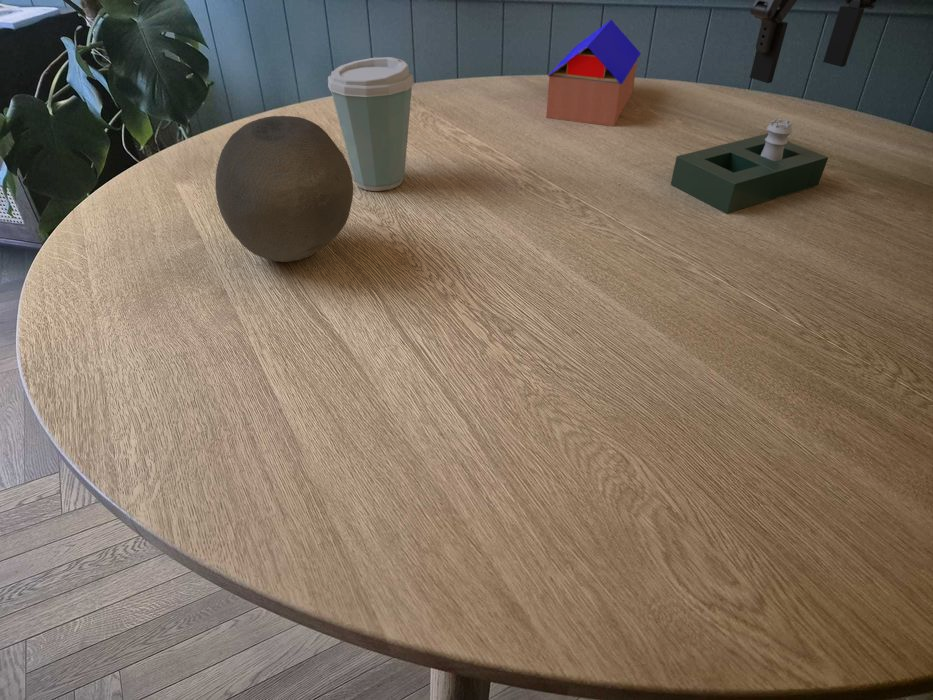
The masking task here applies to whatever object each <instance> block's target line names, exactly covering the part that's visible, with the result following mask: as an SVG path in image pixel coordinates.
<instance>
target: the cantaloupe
mask: <svg viewBox="0 0 933 700" xmlns="http://www.w3.org/2000/svg"><path fill="white" fill-rule="evenodd" d="M353 181H354V179H353V174H352V170H351V167H350V166H349V163H348V161H347V159H346V157H345V155H344V154H343V152H342V151H341V150H340V148H339V147H338V146H337V144H336V142H335V141H333V139H332V138H331V136H330V134H328V133H327V132H326V131H325V130H324V129H323V128H322V127H321V126H320V125H319V124H317V123H315V122H314V121H311V120H309V119H306V118H304V117H300V116H291V115H272V116H271V115H270V116H266V117H261V118H258V119H255V120H252V121H250V122H248V123H246V124H244V125H242V126H241V127H240V128H238V129H237V130H236V131H235V132H233V133H232V134H231V136H229V138H228V140H227V141H226V143H225V144H224V146H223V148H222V149H221V152H220V155H219V157H218V162H217V165H216V171H215V195H216V201H217V206H218V209H219V212H220V215H221V217H222V219H223V221H224V223H225V224H226V226H227V228H228V229H229V232H231V234H232V235H233V236H234V237H235V239H236V240H238V242H239V243H240V244H241V245H242V246H243V247H244V248H245V249H247V251H249V252H250V253H252V254H254V255H255V256H258V257H260V258H263V259H265V260H269V261H273V262H279V263H280V262H281V263H291V262H295V261H301V260H304V259H306V258H308V257H312V256H313V255H314V254H316V253H317V252H319V251H320V250H322V249H324V248H325V247H326V246H327V245H329V244H330V243H331V242H332V241H333V240H334V239H335V238H336V237H337V236H338V235H339V234H340V233H341V231H342V230H343V229H344V227H345V226H346V224H347V222H348V219H349V216H350V213H351V207H352V203H353V196H354V182H353Z"/></svg>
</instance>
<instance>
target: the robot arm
mask: <svg viewBox="0 0 933 700" xmlns="http://www.w3.org/2000/svg"><path fill="white" fill-rule="evenodd" d="M797 1H798V0H754V1H753V3H752V5H751V7H750V11H749V12H750V15H752V16H754V18H755V19H759V20H761V22H760V27H759V31H758V35H757V36H758V37H757V41H756V44H755V55H754V58H753V62H752V65H751V66H752V67H751V70H750V75H749V78H750V79H753V80H756V81H759V82H763V83H766V84H771V83H773V80H774V78H775V77H774V76H775V73H776V68H777V65H778V61H779V58H780V54H781V50H782V46H783V43H784V39H785V35H786V32H787V29H788V25H789V22H786V21H784V19H785V18H786V17H787V15H788V14H789V13H790V11H791V10H792V8H793V7H794V6H795V5H796V3H797ZM877 3H878V0H845V4H846V5H840V6H839V9H838V12H837V15H836V19H835V22H834V25H833V27H832V32H831V34H830V38H829V41H828V45H827V48H826V50H825V54H824V57H823V60H822V62H823V63H824V64H825V63H826V64H829V65H833V66H837V67H840V68H842V67H846V66H847V62H848V59H849V56H850V53H851V50H852V47H853V44H854V40H855V38H856V35H857V32H858V30H859V27H860V24H861V21H862V18H863V14H864V11H865V9H868V10H873V9H874V8H875V7H876V5H877Z"/></svg>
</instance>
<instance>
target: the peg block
mask: <svg viewBox="0 0 933 700" xmlns="http://www.w3.org/2000/svg"><path fill="white" fill-rule="evenodd" d="M767 136H768V132H766V133H763V134H760V135H756V136H751V137H748V138H744V139H743V138H742V139H739V140H736V141H732V142H728V143H723V144H719V145H717V146H713V147H708V148H704V149H699V150H697V151H692V152H688V153H684V154H680V155H676V157H675V161H674V165H673V171H672V176H671V180H670V185H671V186H673V187H675V188H676V189H678V190H680V191H682V192H684V193H686V194H688V195H690V196H692V197H694V198H696V199H697V200H699V201H702V202H703V203H706V204H707V205H710V206H712V207H713V208H715V209H717V210H719V211H721V212H723V213H725V214H730V213H733V212H737V211H739V210H740V211H741V210H743V209H746V208H750V207H753V206H756V205H759V204H763V203H766V202H769V201H772V200H775V199H778V198H783V197H786V196H788V195H792V194H795V193H798V192H801V191H804V190H808V189H811V188H815V187H818V186H819V185H820V183H821V180H822V177H823V173H824V172H825V171H824V170H825V168H826V165H827V162H828V160H829V156H826V155H824V154H821V153H819V152H816V151H814V150H811V149H809V148H806V147H803V146H801V145H798V144H796V143H793V142H790V141H788V140H787V142H788V143H786V144H785V147H784V150H783V156H782V160H778V161H772V160H770V159H767V158H765V157H763V156H760V155H761V153H762V151H763V149H764V146H765V143H766V141H765V138H767Z"/></svg>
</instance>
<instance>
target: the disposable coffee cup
mask: <svg viewBox="0 0 933 700" xmlns="http://www.w3.org/2000/svg"><path fill="white" fill-rule="evenodd" d="M327 83H328V84H327V87H328V89H329V91H330V92H331V96H332V100H333V104H334V107H335V111H336V114H337V119H338V123H339V127H340V130H341V134H342V139H343V142H344V145H345V150H346V154H347V157H348V161H349V165H350V170H351V174H352V177H353V180H354V182H355V183H356V184H357V187H358V188H360V189H363V190H365V191H373V192H382V191H390V190H393V189H395V188H397V187H399V186H400V185H401V184H402V183H403V179H404V178H405V175H406V161H407V150H408V149H407V148H408V137H409V125H410V112H411V102H412V92H413V91H412V90H413V89H412V88H413V86H414V85H415V83H414V76H413V75H412V73H410V69H409V65H408V63H407V62H406V61H405V60H402V59H401V58H396V57H391V56H389V57H388V56H386V57H383V56H382V57H370V58H364V59H360V60H358V59H357V60H354V61H350V62H348V63H345V64H344V63H343V64H342V65H339V66H338V67H336V68H335V69H334V70H332V71H331V72H330V75H328V77H327Z"/></svg>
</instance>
